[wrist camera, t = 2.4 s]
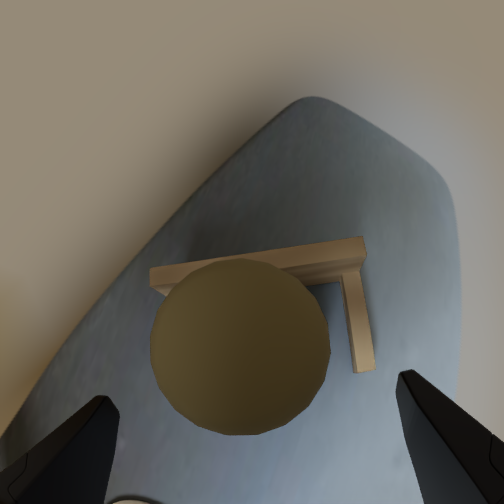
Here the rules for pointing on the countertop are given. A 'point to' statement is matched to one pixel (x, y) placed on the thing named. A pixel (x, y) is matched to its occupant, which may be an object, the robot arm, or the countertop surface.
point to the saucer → (131, 502)
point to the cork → (240, 347)
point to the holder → (306, 282)
